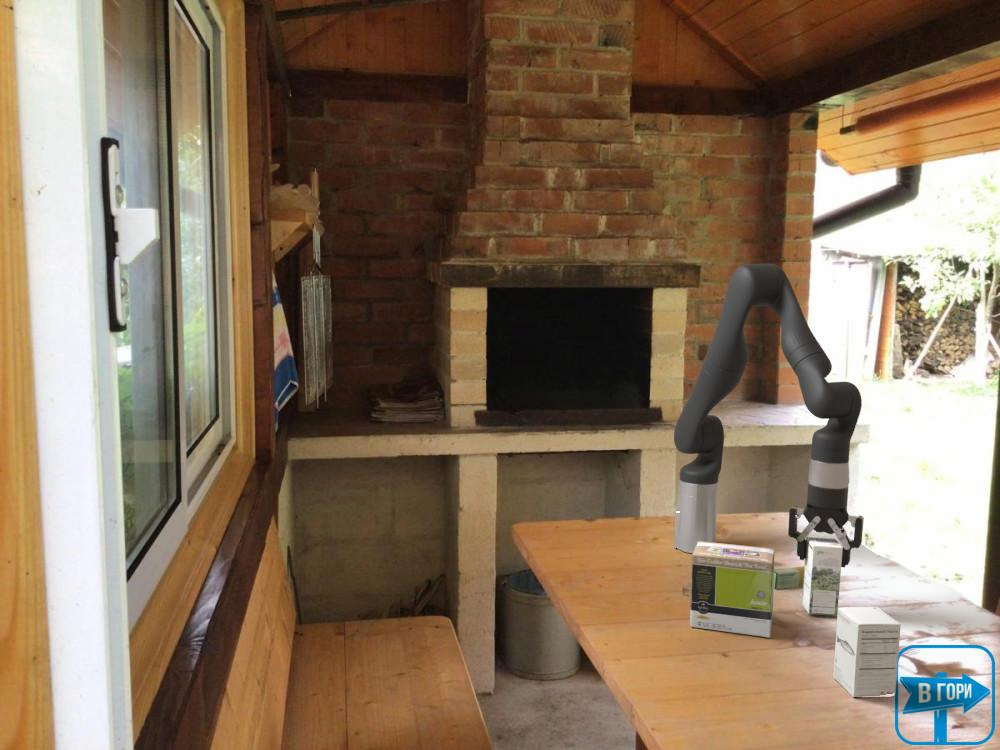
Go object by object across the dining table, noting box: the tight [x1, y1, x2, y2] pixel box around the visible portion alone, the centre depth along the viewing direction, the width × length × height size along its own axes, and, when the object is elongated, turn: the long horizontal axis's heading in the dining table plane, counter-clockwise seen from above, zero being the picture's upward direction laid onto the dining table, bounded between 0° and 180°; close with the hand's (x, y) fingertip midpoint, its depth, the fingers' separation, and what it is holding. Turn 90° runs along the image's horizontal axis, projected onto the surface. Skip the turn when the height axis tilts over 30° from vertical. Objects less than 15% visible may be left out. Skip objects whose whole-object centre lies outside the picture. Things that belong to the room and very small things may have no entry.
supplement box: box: [832, 606, 902, 698], centre depth 144 cm, size 7×7×13 cm
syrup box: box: [801, 536, 843, 616], centre depth 176 cm, size 6×6×14 cm
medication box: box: [773, 566, 804, 591], centre depth 192 cm, size 12×3×4 cm, turn 108°
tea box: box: [689, 541, 775, 638], centre depth 170 cm, size 15×10×15 cm
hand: (822, 562), depth 176 cm, fingers closed on syrup box, 7 cm apart
